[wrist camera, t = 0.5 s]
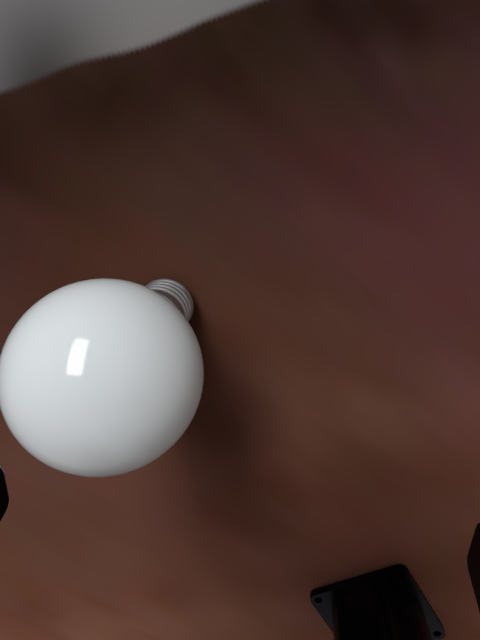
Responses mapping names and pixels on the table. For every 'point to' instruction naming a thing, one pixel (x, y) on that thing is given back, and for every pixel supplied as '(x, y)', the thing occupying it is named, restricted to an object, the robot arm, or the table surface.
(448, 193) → the table surface
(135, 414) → the lightbulb
